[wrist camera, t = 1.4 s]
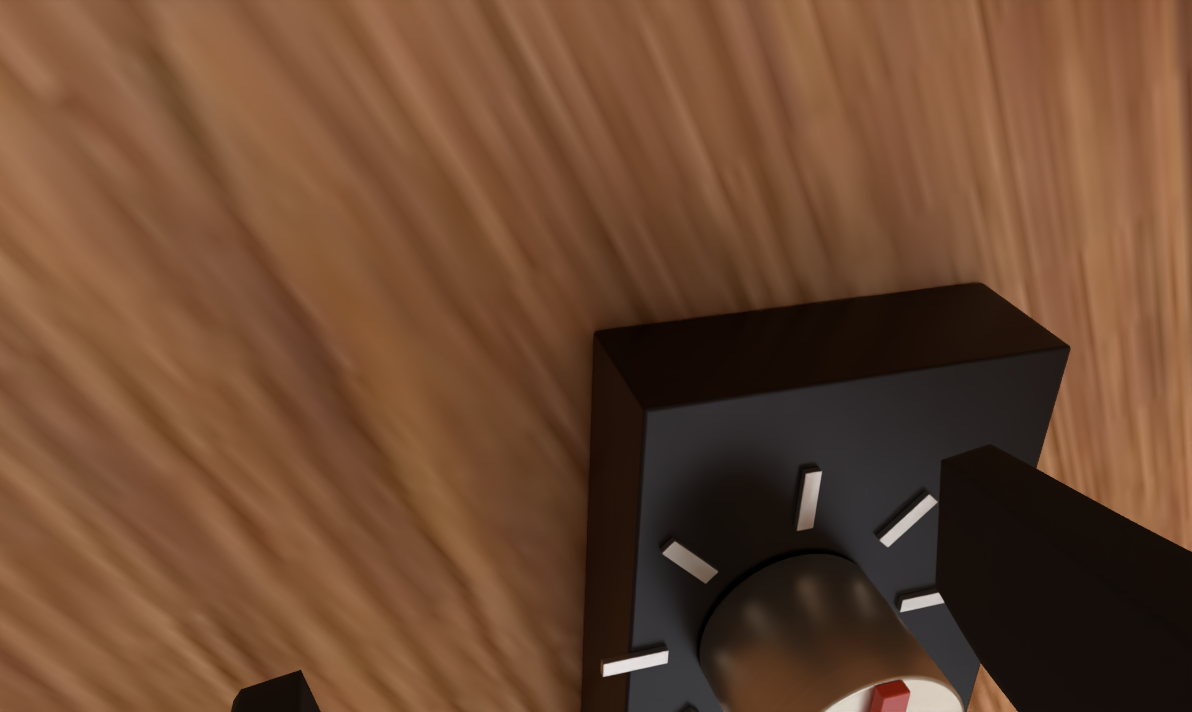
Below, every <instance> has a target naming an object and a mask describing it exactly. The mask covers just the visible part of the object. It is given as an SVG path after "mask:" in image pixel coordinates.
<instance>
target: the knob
mask: <svg viewBox="0 0 1192 712" xmlns="http://www.w3.org/2000/svg"><path fill="white" fill-rule="evenodd" d="M700 663H701V668H702V671H703V674H704V676H705V678H706V679H707V681H708V683H709V685H710V687H711V689H712V691H713V693H714V695H715V697H716V698H717V700H718V702H719V704H720V706H721V708H722V710H723V712H964V706H963V703H962V700H961V697H960V696H959V694H958V693H957V691H956V690H955V688H954V687H953V686H952V685H951V683H950V682H949V681H948V679H947V678H946V677H945V676H944V674H943V673H942V672H941V670H940V669H939V668H938V667H937V665H936V664H935V663H934V661H933V660H932V659H931V658H930V656H929V655H928V654H927V652H926V651H925V650H924V649H923V647H922V646H921V645H920V643H919V642H918V641H917V640H916V638H915V637H914V636H913V634H912V633H911V632H910V631H909V629H908V628H907V627H906V625H905V624H904V623H903V622H902V620H901V619H900V618H899V616H898V615H897V614H896V613H895V611H894V610H893V609H892V607H891V606H890V605H889V604H888V602H887V601H886V600H885V598H884V597H883V596H882V595H881V593H880V592H879V591H878V590H877V588H876V587H875V586H874V584H873V583H872V582H871V581H870V579H869V578H868V577H867V575H866V574H865V573H864V572H863V571H862V570H861V569H860V568H859V567H858V566H857V565H855V564H854V563H852V562H851V561H849V560H846V559H844V558H842V557H839V556H835V555H830V554H805V555H798V556H794V557H790V558H786V559H784V560H781V561H778V562H775V563H773V564H771V565H769V566H767V567H764V568H763V569H761V570H759V571H757V572H756V573H754V574H752V575H751V576H749V577H748V578H747V579H745V580H744V581H742V582H741V583H740V584H739V585H737V586H736V587H735V588H734V589H733V590H732V591H731V592H730V593H729V594H728V595H727V596H726V597H725V598H724V599H723V600H722V601H721V603H720V604H719V605H718V606H717V608H716V609H715V611H714V612H713V614H712V615H711V617H710V618H709V620H708V623H707V625H706V627H705V629H704V632H703V635H702V638H701V644H700Z"/></svg>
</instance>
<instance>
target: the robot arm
mask: <svg viewBox="0 0 1192 712" xmlns="http://www.w3.org/2000/svg"><path fill="white" fill-rule="evenodd" d="M935 587H936V589H937V591H938V592H939V594H940V596H941V598H942V599H943V601H944V603H945V604H946V606H947V608H948V610H949V611H950V613H951V615H952V616H953V618H954V620H955V622H956V623H957V625H958V627H959V628H960V630H961V632H962V633H963V635H964V637H965V638H966V640H967V641H968V643H969V645H970V646H971V648H972V649H973V651H974V653H975V654H976V656H977V658H978V659H979V661H980V662H981V664H982V665H983V667H984V668H985V669H986V671H987V672H988V673H989V675H990V676H991V677H992V679H993V680H994V681H995V683H996V684H997V685H998V686H999V688H1000V689H1001V690H1002V692H1003V693H1004V694H1005V695H1006V697H1007V698H1008V699H1009V701H1010V702H1011V703H1012V705H1013V706H1014V707H1015V708H1016V710H1017V711H1018V712H1192V552H1191V551H1189V550H1187V549H1185V548H1183V547H1181V546H1179V545H1177V544H1175V543H1173V542H1171V541H1169V540H1167V539H1165V538H1163V537H1161V536H1160V535H1158V534H1156V533H1154V532H1152V531H1150V530H1148V529H1146V528H1144V527H1142V526H1140V525H1139V524H1137V523H1135V522H1133V521H1131V520H1129V519H1127V518H1125V517H1124V516H1122V515H1120V514H1118V513H1116V512H1114V511H1112V510H1111V509H1109V508H1107V507H1105V506H1103V505H1101V504H1100V503H1098V502H1096V501H1094V500H1092V499H1090V498H1089V497H1087V496H1085V495H1083V494H1081V493H1079V492H1078V491H1076V490H1074V489H1072V488H1070V487H1069V486H1067V485H1065V484H1063V483H1061V482H1059V481H1058V480H1056V479H1054V478H1052V477H1050V476H1049V475H1047V474H1045V473H1043V472H1041V471H1040V470H1038V469H1036V468H1034V467H1032V466H1030V465H1029V464H1027V463H1025V462H1023V461H1021V460H1020V459H1018V458H1016V457H1014V456H1012V455H1010V454H1008V453H1007V452H1005V451H1003V450H1001V449H999V448H997V447H995V446H993V445H991V444H988V445H985V446H982V447H979V448H976V449H973V450H970V451H967V452H964V453H961V454H958V455H955V456H952V457H948V458H945V459H942V460H941V471H940V493H939V514H938V536H937V558H936V579H935ZM231 712H321V711H320V709H319V707H318V705H317V703H316V701H315V699H314V697H313V695H312V692H311V690H310V688H309V686H308V684H307V682H306V680H305V678H304V675H303V673H302V671H301V670H299V671H296V672H293V673H290V674H287V675H284V676H281V677H277V678H274V679H271V680H268V681H265V682H262V683H259V684H256V685H253V686H250V687H247V688H244V689H241V690H240V692H239V693H238V695H237V696H236V698H235V699H234V701H233V706H232V710H231Z"/></svg>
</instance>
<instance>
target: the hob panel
mask: <svg viewBox="0 0 1192 712" xmlns="http://www.w3.org/2000/svg"><path fill="white" fill-rule="evenodd" d="M1069 353H1070V346H1069V345H1068V344H1066V343H1065V342H1064V341H1062V340H1061V339H1059V338H1058V337H1057V336H1055V335H1054V334H1052V333H1051V332H1050V331H1048V330H1047V329H1046V328H1044V327H1043V326H1041V325H1040V324H1039V323H1037V322H1036V321H1034V320H1033V319H1032V318H1030V317H1029V316H1028V315H1026V314H1025V313H1023V312H1022V311H1021V310H1019V309H1018V308H1016V307H1015V306H1014V305H1012V304H1011V303H1010V302H1008V301H1007V300H1005V299H1004V298H1003V297H1001V296H1000V295H998V294H997V293H996V292H994V291H993V290H992V289H990V288H989V287H987V286H986V285H985V284H983V283H977V284H969V285H961V286H953V287H945V288H937V289H929V290H921V291H913V292H905V293H897V294H889V295H881V296H873V297H865V298H857V299H849V300H841V301H833V302H825V303H817V304H809V305H801V306H793V307H785V308H777V309H769V310H761V311H753V312H745V313H737V314H729V315H721V316H713V317H705V318H697V319H689V320H681V321H673V322H665V323H657V324H649V325H641V326H633V327H625V328H617V329H609V330H601V331H596V332H595V333H594V353H593V382H592V412H591V441H590V471H589V501H588V530H587V560H586V589H585V619H584V648H583V678H582V707H581V712H723V710H722V708H721V706H720V704H719V702H718V700H717V698H716V697H715V695H714V693H713V691H712V689H711V687H710V685H709V683H708V681H707V679H706V678H705V676H704V674H703V671H702V668H701V663H700V644H701V638H702V635H703V632H704V629H705V627H706V625H707V623H708V620H709V618H710V617H711V615H712V614H713V612H714V611H715V609H716V608H717V606H718V605H719V604H720V603H721V601H722V600H723V599H724V598H725V597H726V596H727V595H728V594H729V593H730V592H731V591H732V590H733V589H734V588H735V587H736V586H737V585H739V584H740V583H741V582H742V581H744V580H745V579H747V578H748V577H749V576H751V575H752V574H754V573H756V572H757V571H759V570H761V569H763V568H764V567H767V566H769V565H771V564H773V563H775V562H778V561H781V560H784V559H786V558H790V557H794V556H798V555H805V554H830V555H835V556H839V557H842V558H844V559H846V560H849V561H851V562H852V563H854V564H855V565H857V566H858V567H859V568H860V569H861V570H862V571H863V572H864V573H865V574H866V575H867V577H868V578H869V579H870V581H871V582H872V583H873V584H874V586H875V587H876V588H877V590H878V591H879V592H880V593H881V595H882V596H883V597H884V598H885V600H886V601H887V602H888V604H889V605H890V606H891V607H892V609H893V610H894V611H895V613H896V614H897V615H898V616H899V618H900V619H901V620H902V622H903V623H904V624H905V625H906V627H907V628H908V629H909V631H910V632H911V633H912V634H913V636H914V637H915V638H916V640H917V641H918V642H919V643H920V645H921V646H922V647H923V649H924V650H925V651H926V652H927V654H928V655H929V656H930V658H931V659H932V660H933V661H934V663H935V664H936V665H937V667H938V668H939V669H940V670H941V672H942V673H943V674H944V676H945V677H946V678H947V679H948V681H949V682H950V683H951V685H952V686H953V687H954V688H955V690H956V691H957V693H958V694H959V696H960V697H961V700H962V703H963V706H964V712H967V709H968V705H969V702H970V698H971V695H972V691H973V688H974V684H975V681H976V677H977V674H978V670H979V667H980V663H981V662H980V661H979V659H978V658H977V656H976V654H975V653H974V651H973V649H972V648H971V646H970V645H969V643H968V641H967V640H966V638H965V637H964V635H963V633H962V632H961V630H960V628H959V627H958V625H957V623H956V622H955V620H954V618H953V616H952V615H951V613H950V611H949V610H948V608H947V606H946V604H945V603H944V601H943V599H942V598H941V596H940V594H939V592H938V591H937V589H936V587H935V579H936V558H937V536H938V514H939V493H940V471H941V460H942V459H945V458H948V457H952V456H955V455H958V454H961V453H964V452H967V451H970V450H973V449H976V448H979V447H982V446H985V445H988V444H991V445H993V446H995V447H997V448H999V449H1001V450H1003V451H1005V452H1007V453H1008V454H1010V455H1012V456H1014V457H1016V458H1018V459H1020V460H1021V461H1023V462H1025V463H1027V464H1029V465H1030V466H1032V467H1034V468H1037V464H1038V461H1039V457H1040V454H1041V450H1042V447H1043V443H1044V440H1045V436H1046V433H1047V429H1048V426H1049V422H1050V419H1051V415H1052V412H1053V408H1054V405H1055V401H1056V398H1057V394H1058V391H1059V388H1060V384H1061V381H1062V377H1063V374H1064V370H1065V367H1066V363H1067V360H1068V356H1069Z"/></svg>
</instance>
